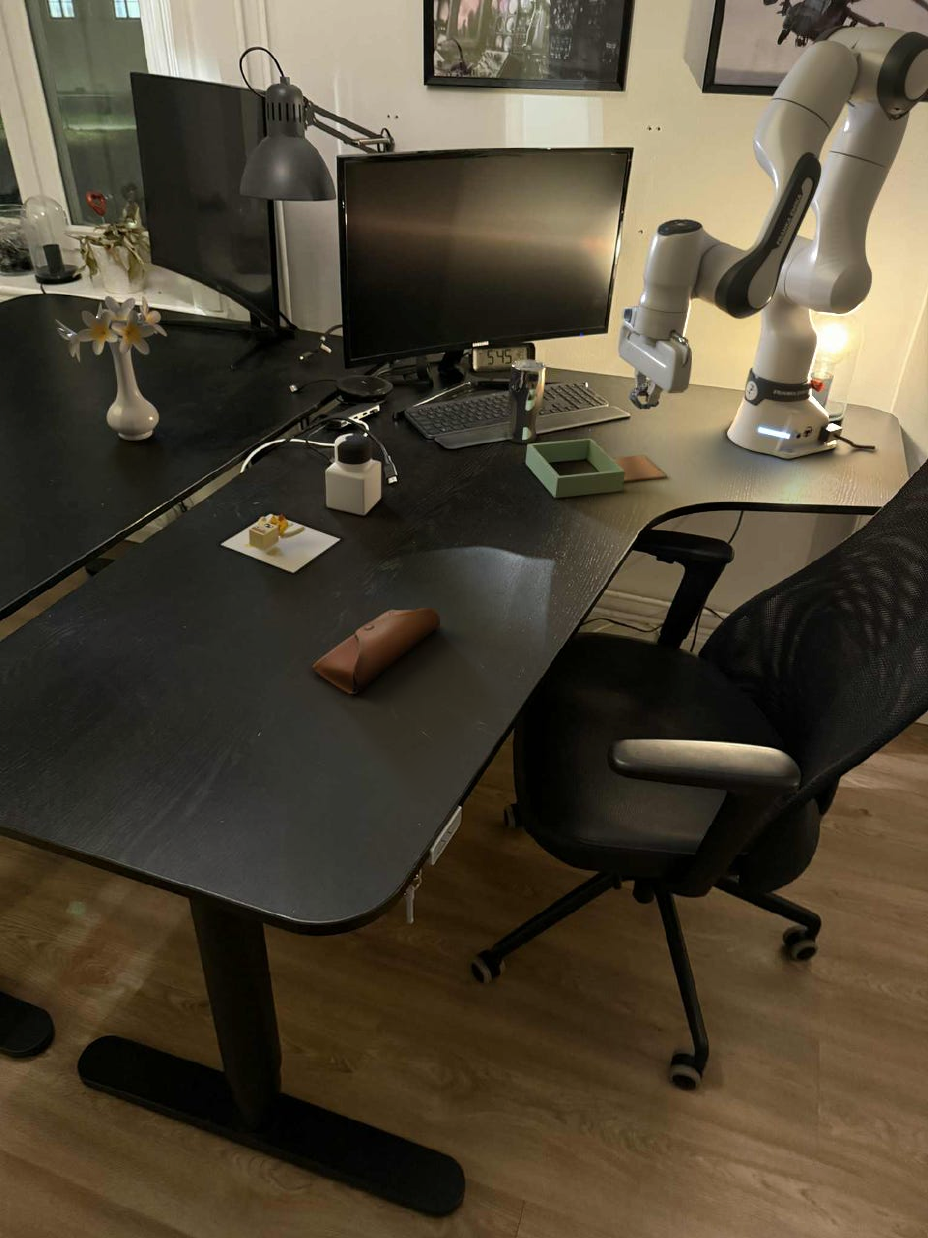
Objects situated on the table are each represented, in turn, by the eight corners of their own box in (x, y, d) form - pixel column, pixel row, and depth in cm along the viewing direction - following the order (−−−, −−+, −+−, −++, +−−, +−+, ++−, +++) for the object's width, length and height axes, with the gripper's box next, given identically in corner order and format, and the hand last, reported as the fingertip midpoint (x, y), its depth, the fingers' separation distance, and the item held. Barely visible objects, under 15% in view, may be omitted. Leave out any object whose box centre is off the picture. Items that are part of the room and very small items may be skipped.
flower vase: (70, 438, 162) (40, 302, 148) (156, 412, 174) (136, 284, 159) (108, 461, 156) (80, 321, 141) (195, 433, 168) (177, 301, 153)
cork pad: (642, 457, 171) (642, 455, 170) (665, 477, 164) (665, 475, 164) (601, 461, 168) (601, 459, 168) (622, 482, 161) (623, 480, 161)
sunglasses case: (392, 605, 124) (412, 580, 119) (425, 641, 123) (447, 617, 118) (307, 669, 111) (326, 644, 106) (344, 709, 111) (364, 686, 106)
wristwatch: (639, 412, 160) (626, 393, 158) (662, 394, 159) (649, 375, 156) (644, 419, 158) (631, 400, 155) (668, 401, 157) (655, 382, 154)
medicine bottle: (381, 498, 151) (381, 434, 143) (364, 516, 145) (363, 451, 138) (344, 490, 152) (342, 426, 145) (326, 507, 147) (323, 442, 140)
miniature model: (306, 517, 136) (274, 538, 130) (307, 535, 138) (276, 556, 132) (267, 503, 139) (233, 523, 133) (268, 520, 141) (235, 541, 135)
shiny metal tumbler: (536, 446, 172) (544, 373, 163) (501, 441, 173) (508, 368, 164) (540, 432, 177) (549, 361, 169) (507, 428, 178) (514, 356, 169)
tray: (588, 457, 169) (591, 438, 167) (621, 490, 158) (625, 471, 156) (525, 463, 165) (527, 443, 163) (555, 498, 154) (557, 477, 152)
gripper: (708, 341, 143) (689, 420, 151) (649, 304, 158) (635, 378, 166) (675, 342, 141) (658, 422, 149) (618, 305, 156) (605, 379, 164)
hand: (645, 398), depth 158 cm, fingers closed on wristwatch, 2 cm apart
